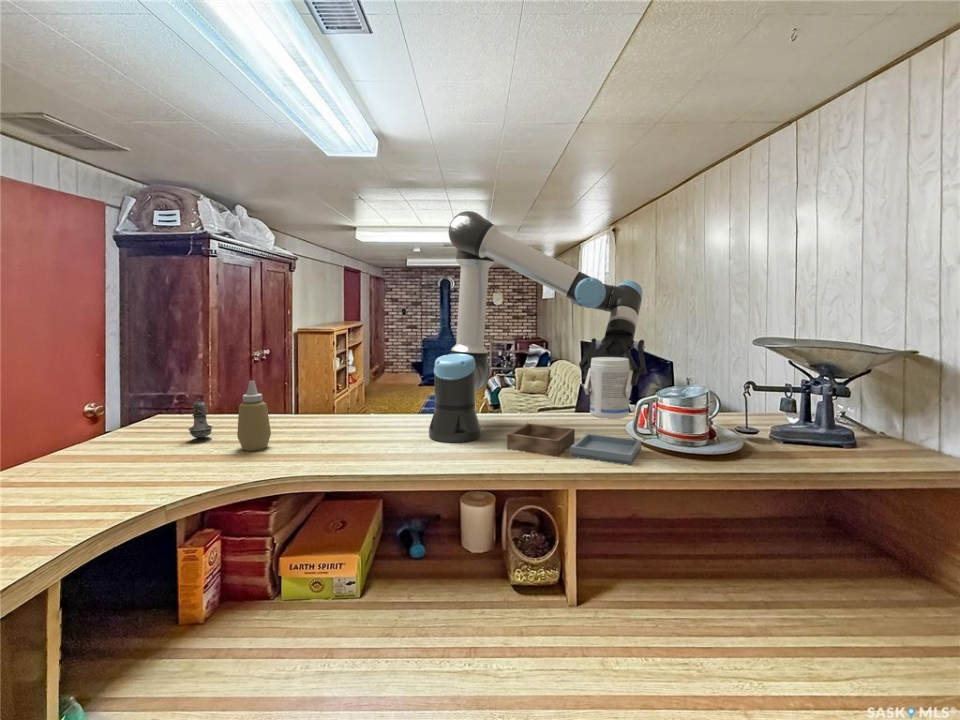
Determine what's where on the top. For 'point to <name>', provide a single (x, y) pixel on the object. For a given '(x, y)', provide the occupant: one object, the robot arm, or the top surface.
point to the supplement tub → (609, 387)
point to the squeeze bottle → (253, 421)
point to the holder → (541, 439)
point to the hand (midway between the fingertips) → (606, 392)
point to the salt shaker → (200, 424)
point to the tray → (606, 448)
